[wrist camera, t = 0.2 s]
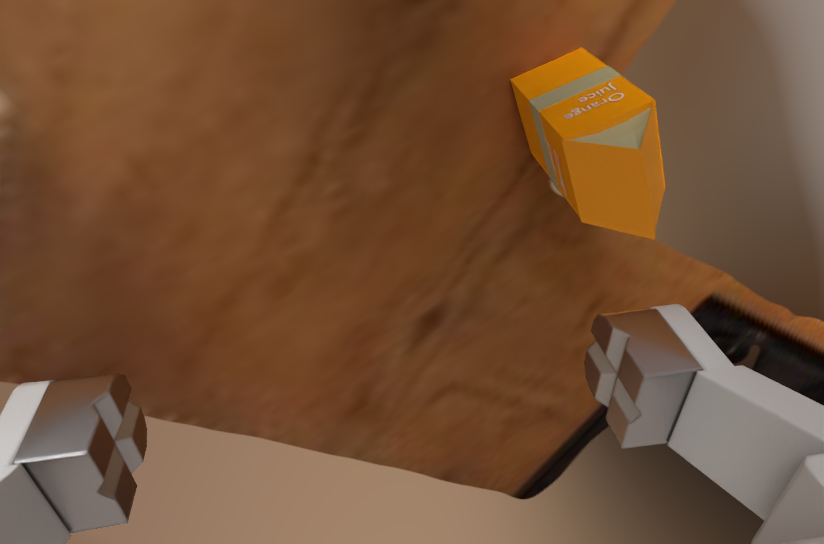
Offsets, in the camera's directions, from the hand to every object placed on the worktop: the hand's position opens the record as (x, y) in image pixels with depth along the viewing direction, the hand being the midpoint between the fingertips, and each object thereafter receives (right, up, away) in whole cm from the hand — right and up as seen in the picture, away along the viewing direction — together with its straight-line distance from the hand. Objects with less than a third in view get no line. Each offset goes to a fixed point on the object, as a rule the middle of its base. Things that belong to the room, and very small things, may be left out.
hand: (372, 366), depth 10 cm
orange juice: (+15, +19, +49) cm, 55 cm away
